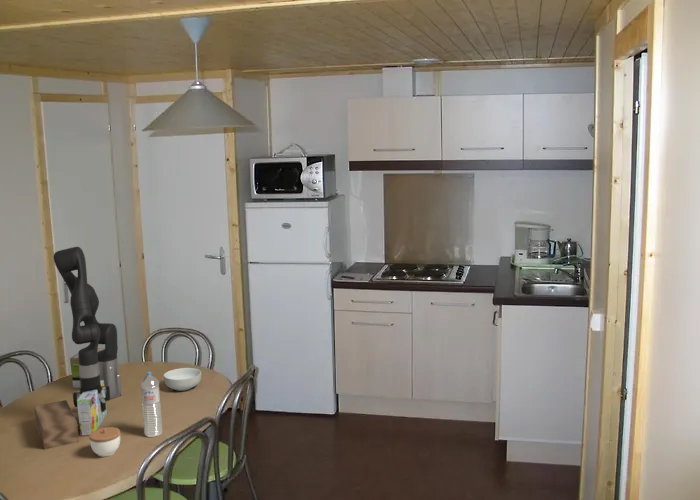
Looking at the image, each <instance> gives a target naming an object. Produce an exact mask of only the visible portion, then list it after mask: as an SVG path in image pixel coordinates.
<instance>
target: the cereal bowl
mask: <svg viewBox="0 0 700 500" xmlns="http://www.w3.org/2000/svg"><path fill="white" fill-rule="evenodd" d="M201 380H202V371H201V370H200V369H198V368H194V367H180V368H176V369H171V370H169V371H166V372H165V373H164V374H163V383H164V384H165V385H166V387H168V388H170V389H173V390H175V391H177V392H184V391H189V390H191V389H192V388H194V387H195V386H197V385H198V384H200V382H201Z"/></svg>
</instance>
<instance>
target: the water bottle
mask: <svg viewBox="0 0 700 500" xmlns="http://www.w3.org/2000/svg"><path fill="white" fill-rule="evenodd" d="M140 393H141V408H142V422H143V432H144V436H146V437H147V438H155V437H159V436H160V435H162V433H163V422H162V421H163V420H162V419H163V418H162V407H161V399H160V397H161V396H160V381H159V380H158V379H157V377H155V376H153V374H152V371H147V372H146V376H145V377H144V378H143V379H142V380H141V381H140Z"/></svg>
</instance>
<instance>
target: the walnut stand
mask: <svg viewBox="0 0 700 500" xmlns="http://www.w3.org/2000/svg"><path fill="white" fill-rule="evenodd" d="M34 415H35V425H36V428H37V431H38V434H39V437H40V440H41V443H42V446H43V449H44V450H47V449H51V448H56V447H60V446H65V445H69V444H74V443H79V442H80V440H79V431H78V430H79V429H78V422H77V419H76V417H75V415H74V413H73V411H72V409H71V407H70V405H69V403H68V401H67V399H65V400H59V401H55V402H50V403H45V404H40V405H35V406H34Z"/></svg>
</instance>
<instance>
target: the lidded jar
mask: <svg viewBox="0 0 700 500" xmlns="http://www.w3.org/2000/svg"><path fill="white" fill-rule="evenodd" d="M88 437H89V445H90V447H91V450H92V451H93V453H95V454H96V455H97V456H98V457H101V458H103V457H104V458H105V457H110V456H113V455H114V454H115V453H116V451H117V450H118V449H119V447H120V443H121V430H120V429H119V428H118V427H112V426H111V427H109V426H107V427H101V428H98V429H97V430H95V431H93V432H91V433H90V435H88Z"/></svg>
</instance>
